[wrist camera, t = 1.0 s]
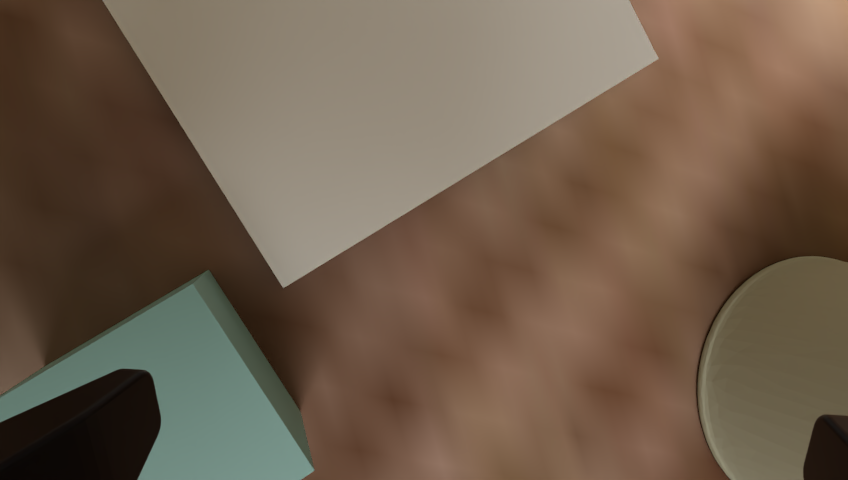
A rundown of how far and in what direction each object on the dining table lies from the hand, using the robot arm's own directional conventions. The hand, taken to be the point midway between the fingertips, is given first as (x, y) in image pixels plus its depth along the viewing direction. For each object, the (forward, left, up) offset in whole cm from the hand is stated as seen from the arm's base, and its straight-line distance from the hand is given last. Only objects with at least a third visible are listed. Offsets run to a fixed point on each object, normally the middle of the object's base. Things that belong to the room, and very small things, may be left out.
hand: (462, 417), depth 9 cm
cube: (-5, +1, -11) cm, 13 cm away
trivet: (+6, +9, -11) cm, 15 cm away
